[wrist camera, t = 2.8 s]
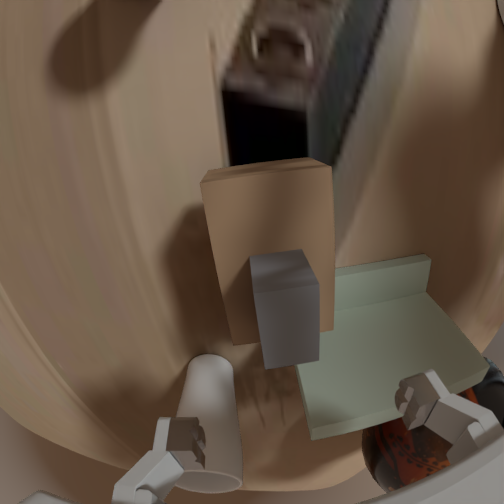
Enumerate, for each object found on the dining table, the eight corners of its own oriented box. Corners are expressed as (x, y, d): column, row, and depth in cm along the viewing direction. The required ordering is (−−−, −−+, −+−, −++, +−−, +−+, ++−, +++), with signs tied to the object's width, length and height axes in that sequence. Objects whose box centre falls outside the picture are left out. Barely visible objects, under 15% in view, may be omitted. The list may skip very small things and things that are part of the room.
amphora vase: (411, 415, 42) (460, 531, 16) (318, 415, 38) (356, 580, 12) (484, 327, 34) (573, 446, 8) (402, 303, 30) (530, 507, 4)
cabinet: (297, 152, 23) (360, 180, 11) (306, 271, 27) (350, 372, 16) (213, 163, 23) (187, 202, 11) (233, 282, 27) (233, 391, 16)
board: (424, 253, 27) (507, 329, 15) (416, 299, 30) (481, 381, 17) (281, 276, 27) (313, 394, 15) (285, 325, 30) (311, 440, 17)
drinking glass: (247, 354, 31) (255, 475, 18) (230, 389, 34) (231, 496, 20) (188, 340, 30) (168, 464, 16) (177, 377, 33) (161, 486, 19)
